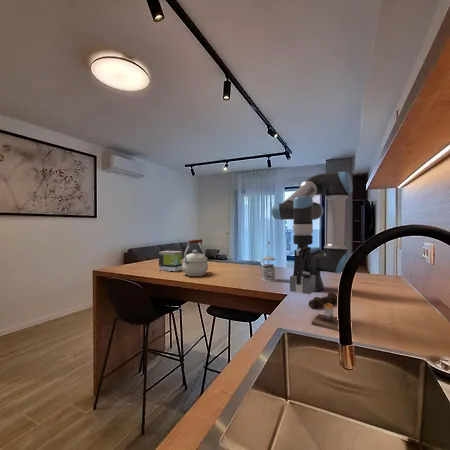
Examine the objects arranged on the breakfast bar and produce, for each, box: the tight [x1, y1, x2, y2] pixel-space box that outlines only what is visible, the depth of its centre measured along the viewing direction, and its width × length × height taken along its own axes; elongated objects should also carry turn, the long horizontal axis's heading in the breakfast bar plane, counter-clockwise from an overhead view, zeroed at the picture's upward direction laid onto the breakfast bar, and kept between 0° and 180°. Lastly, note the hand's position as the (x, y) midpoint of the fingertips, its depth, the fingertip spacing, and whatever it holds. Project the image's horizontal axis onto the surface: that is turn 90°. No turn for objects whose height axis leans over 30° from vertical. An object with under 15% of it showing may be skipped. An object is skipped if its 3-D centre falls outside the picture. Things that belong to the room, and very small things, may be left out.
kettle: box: [181, 238, 209, 277], centre depth 188 cm, size 25×18×25 cm
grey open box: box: [289, 274, 316, 295], centre depth 108 cm, size 8×8×6 cm
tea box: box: [158, 250, 183, 273], centre depth 203 cm, size 15×10×15 cm
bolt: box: [308, 292, 338, 309], centre depth 120 cm, size 6×5×15 cm
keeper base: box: [311, 313, 339, 331], centre depth 100 cm, size 10×10×1 cm
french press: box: [258, 241, 277, 283], centre depth 171 cm, size 10×12×25 cm
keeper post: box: [323, 303, 334, 322], centre depth 100 cm, size 3×3×7 cm
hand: (302, 289), depth 108 cm, fingers closed on grey open box, 8 cm apart
